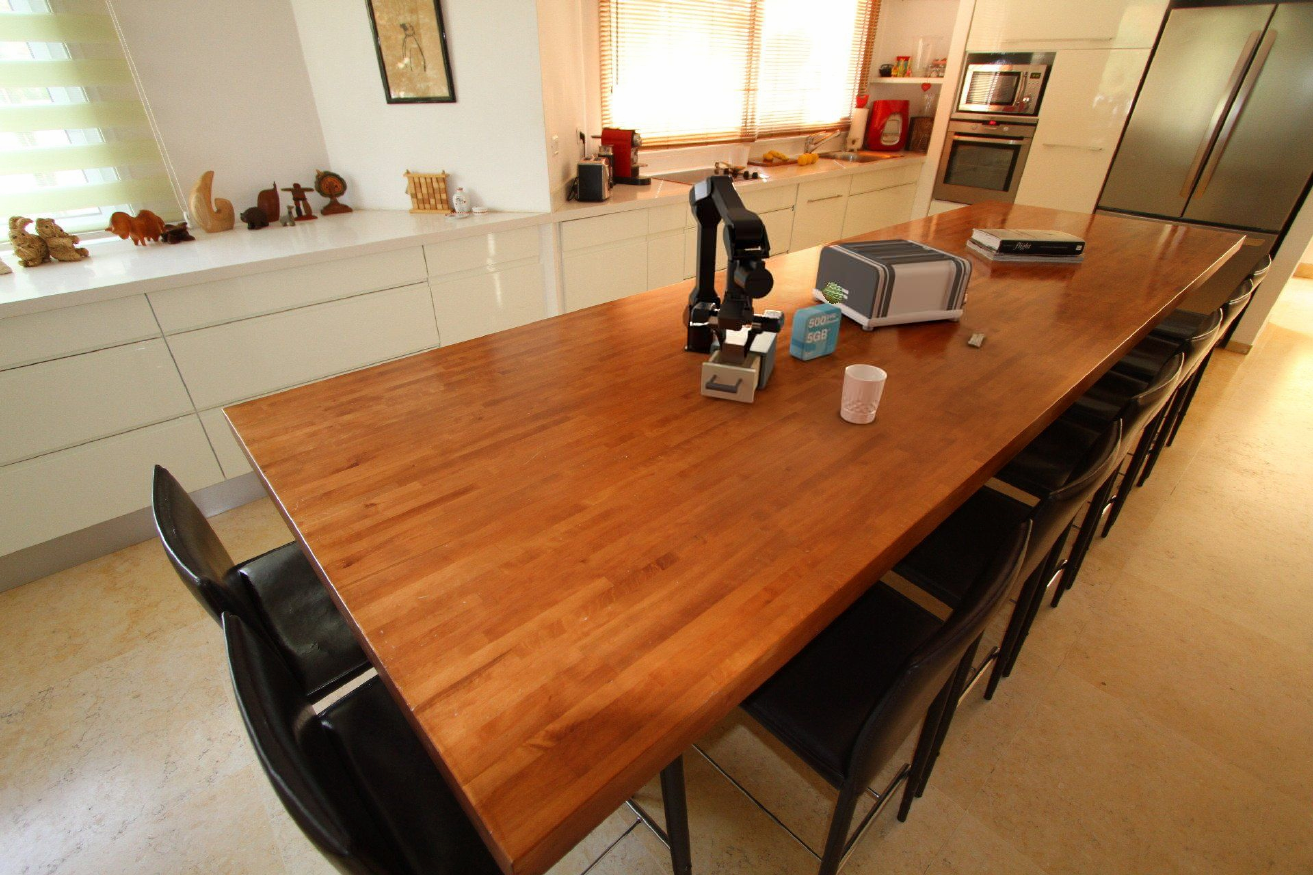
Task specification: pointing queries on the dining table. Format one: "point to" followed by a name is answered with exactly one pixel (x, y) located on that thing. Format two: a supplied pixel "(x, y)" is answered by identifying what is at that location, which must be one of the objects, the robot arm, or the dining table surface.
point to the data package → (815, 331)
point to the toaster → (894, 281)
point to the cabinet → (756, 350)
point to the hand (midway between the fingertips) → (734, 355)
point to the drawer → (731, 377)
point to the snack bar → (976, 339)
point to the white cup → (861, 393)
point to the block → (734, 350)
